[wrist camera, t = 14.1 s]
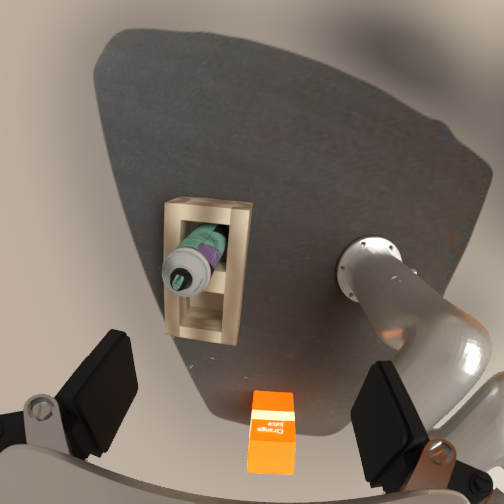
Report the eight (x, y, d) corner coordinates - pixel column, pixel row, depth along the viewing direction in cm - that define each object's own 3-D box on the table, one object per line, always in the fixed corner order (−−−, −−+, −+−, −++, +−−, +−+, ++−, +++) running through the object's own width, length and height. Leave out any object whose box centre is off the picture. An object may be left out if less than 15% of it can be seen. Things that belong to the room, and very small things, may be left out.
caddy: (252, 202, 46) (249, 210, 38) (240, 320, 53) (236, 345, 45) (181, 195, 46) (164, 202, 39) (178, 311, 53) (165, 334, 45)
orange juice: (287, 413, 60) (290, 481, 41) (251, 411, 61) (245, 479, 42) (293, 392, 58) (297, 465, 39) (253, 389, 58) (247, 463, 39)
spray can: (199, 251, 48) (157, 307, 29) (196, 219, 46) (148, 258, 27) (231, 250, 48) (207, 308, 29) (229, 217, 46) (200, 257, 27)
